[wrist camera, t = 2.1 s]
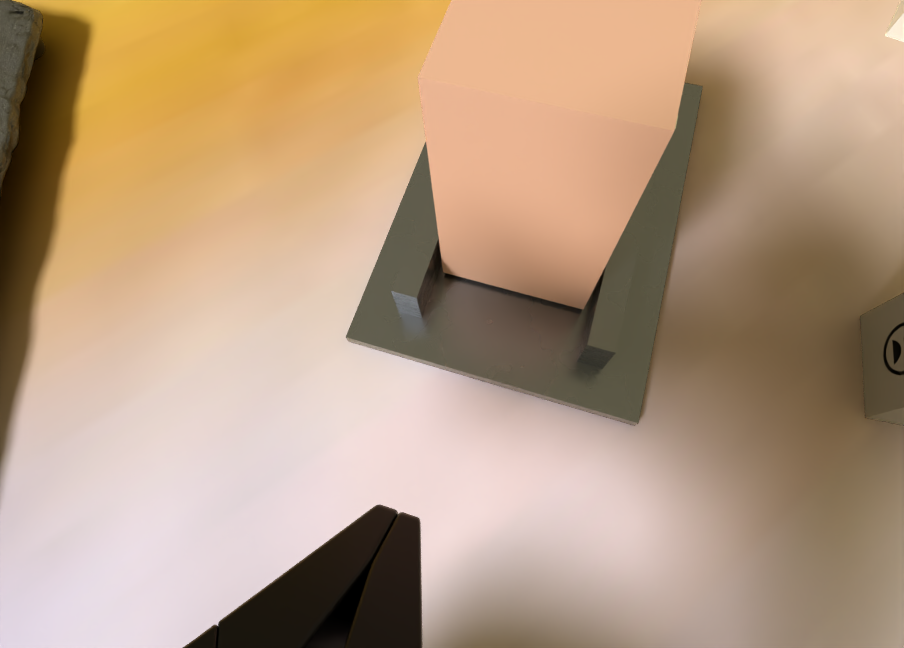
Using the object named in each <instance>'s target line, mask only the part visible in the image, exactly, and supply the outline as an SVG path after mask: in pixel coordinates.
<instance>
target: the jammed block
mask: <svg viewBox="0 0 904 648" xmlns="http://www.w3.org/2000/svg"><path fill="white" fill-rule="evenodd" d="M700 5H701V0H451V3H450V5H449V7H448V9H447V12H446V14H445V16H444V18H443V21H442V23H441V25H440V28H439V30H438V32H437V34H436V37H435V39H434V41H433V44H432V46H431V48H430V50H429V53H428V55H427V57H426V60H425V62H424V64H423V66H422V69H421V71H420V73H419V75H418V83H419V91H420V98H421V106H422V114H423V121H424V129H425V137H426V144H427V152H428V160H429V167H430V175H431V183H432V190H433V198H434V206H435V213H436V221H437V229H438V236H439V244H440V252H441V259H442V267H443V272H444V273H447V274H451V275H455V276H459V277H462V278H466V279H470V280H474V281H478V282H481V283H485V284H489V285H493V286H496V287H500V288H504V289H508V290H511V291H515V292H519V293H523V294H526V295H530V296H534V297H538V298H541V299H545V300H549V301H553V302H556V303H560V304H564V305H568V306H571V307H575V308H579V309H584V307H585V306H586V304H587V302H588V300H589V298H590V296H591V294H592V292H593V290H594V288H595V286H596V284H597V282H598V280H599V278H600V276H601V274H602V272H603V270H604V268H605V266H606V264H607V262H608V260H609V258H610V256H611V254H612V252H613V250H614V249H615V247H616V245H617V243H618V241H619V239H620V237H621V235H622V233H623V231H624V229H625V227H626V225H627V223H628V221H629V219H630V217H631V215H632V213H633V211H634V209H635V207H636V205H637V203H638V201H639V199H640V197H641V195H642V194H643V192H644V190H645V188H646V186H647V184H648V182H649V180H650V178H651V176H652V174H653V172H654V170H655V168H656V166H657V164H658V162H659V160H660V158H661V156H662V154H663V152H664V150H665V148H666V146H667V144H668V142H669V140H670V139H671V137H672V135H673V133H674V130H675V125H676V121H677V116H678V111H679V106H680V101H681V96H682V92H683V87H684V82H685V77H686V72H687V67H688V63H689V58H690V53H691V48H692V43H693V39H694V34H695V29H696V24H697V19H698V14H699V10H700Z"/></svg>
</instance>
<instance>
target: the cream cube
mask: <svg viewBox="0 0 904 648" xmlns="http://www.w3.org/2000/svg"><path fill="white" fill-rule="evenodd" d="M885 36H887V37H890V38H893V39H895V40H898V41H901V42H904V0H900V2H899V4H898V6H897V9H896V11H895V13H894V15H893V18H892V20H891V22H890V25H889V27H888V29H887V31H886V34H885Z"/></svg>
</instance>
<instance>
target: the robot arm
mask: <svg viewBox="0 0 904 648" xmlns="http://www.w3.org/2000/svg"><path fill="white" fill-rule="evenodd" d="M183 648H422V589H421V527H420V519H419V518H418V517H415V516H412V515H409V514H406V513H403V512H401V513H399V514H398V512H397V511H396V510H395V509H392V508H389V507H386V506H383V505H376V506H375V507H373V508H372V509H370V510H369V511H368V512H366V513H365V514H364V515H362V516H361V517H360V518H358V519H357V520H356V521H354V522H353V523H352V524H350V525H349V526H347V527H346V528H345V529H343V530H342V531H341V532H339V533H338V534H337V535H335V536H334V537H333V538H331V539H330V540H329V541H327V542H326V543H324V544H323V545H322V546H320V547H319V548H318V549H316V550H315V551H314V552H312V553H311V554H310V555H308V556H307V557H306V558H304V559H303V560H302V561H300V562H299V563H297V564H296V565H295V566H293V567H292V568H291V569H289V570H288V571H287V572H285V573H284V574H283V575H281V576H280V577H279V578H277V579H276V580H274V581H273V582H272V583H270V584H269V585H268V586H266V587H265V588H264V589H262V590H261V591H260V592H258V593H257V594H256V595H254V596H253V597H251V598H250V599H249V600H247V601H246V602H245V603H243V604H242V605H241V606H239V607H238V608H237V609H235V610H234V611H233V612H231V613H230V614H229V615H227V616H226V617H224V618H223V619H222V620H220V621H219V623H218V626H217V625H213V626H212V627H211V628H209V629H208V630H207V631H205V632H204V633H202V634H201V635H200V636H198V637H197V638H196V639H194V640H193V641H192V642H190V643H189V644H187V645H186V646H185V647H183Z"/></svg>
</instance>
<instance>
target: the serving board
mask: <svg viewBox="0 0 904 648" xmlns="http://www.w3.org/2000/svg"><path fill="white" fill-rule="evenodd" d="M42 27H43V16H42V14H41V13H40V11H38V10H36V9H33V8H31V7H29V6H26V5H24V4H22V3H20V2H16V1H12V0H0V198H1V189H2V184H3V179H4V176H5V174H6V171H7V169H8V167H9V165H10V163H11V156H12V152H13V151H14V149H15V148H16V146H17V145H18V140H19V131H20V127H19V117H20V106H19V105H20V104H21V102H22V101H23V99H24V98H25V95H26V91H27V85H26V83H27V81H28V79H29V77H30V74H31V70H32V66H33V62H34V60H36V59H38V58H39V57H41V56H42V54H43V53H44V51H45V44H44V42H43V40H42V38H41V37H40V35H41V31H42Z"/></svg>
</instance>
